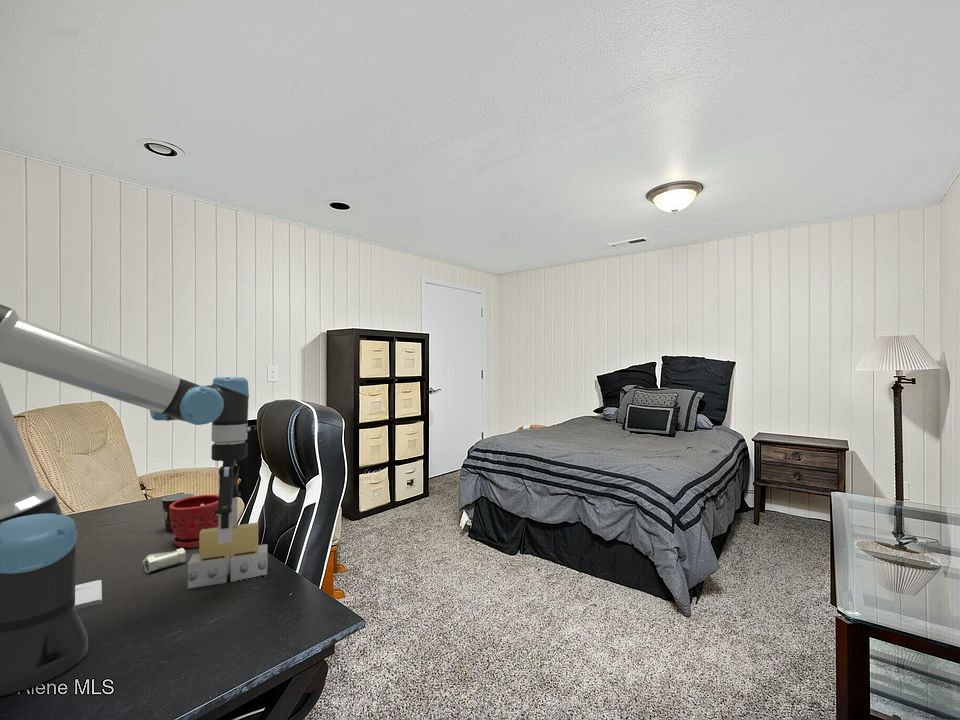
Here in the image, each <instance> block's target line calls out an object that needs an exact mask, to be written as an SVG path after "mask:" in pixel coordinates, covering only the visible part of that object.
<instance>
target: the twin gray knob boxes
mask: <svg viewBox="0 0 960 720" xmlns="http://www.w3.org/2000/svg"><path fill="white" fill-rule="evenodd" d="M229 575H230V583H233V582H238V580H240V581H243V580H242V579H246V580H248V579H247V578H252V577H256V576H260V575H267V576H268V544H267V543H266V544H258V552H252V553H251V554H245V555H239V554H238V555H231V556H224V557H220V558H218V559H211V560H207V559H204V560H199V553H193V554H192V555H191V557H190V559H189V561H188V563H187V589H188V590H190V589H196V588H197V589H198V588H202V587H209V586H215V585H220V584H227V583H228V578H229ZM252 579H253V578H252Z"/></svg>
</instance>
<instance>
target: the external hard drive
mask: <svg viewBox="0 0 960 720" xmlns="http://www.w3.org/2000/svg"><path fill="white" fill-rule="evenodd" d="M102 587H103V584H102V579H97V580H93V581H89V582H85V583H81V584H75V608H76V610H77V611H78V610H82V609H86V608H90V607H94V606H99V605H102V604H103V589H102Z"/></svg>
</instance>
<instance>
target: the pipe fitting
mask: <svg viewBox="0 0 960 720" xmlns="http://www.w3.org/2000/svg"><path fill="white" fill-rule="evenodd" d="M186 560H187V553H186V550H185V549H184V547H180V548H177V549H175V550H173V551H167V552H166V551H165V552H157V553H149V554H148V555H147V556H146V557H145V558H144V559H143V560H142V565H143V566H144V571H145V573H146V574H148V575H149V574H150V573H151V574H152V573H155V572H156V571H160V570H162V569H165V568H169V567H173V566H176V565H177V566H178V565H181V564H184V563H185V562H187V561H186Z"/></svg>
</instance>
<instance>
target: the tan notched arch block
mask: <svg viewBox="0 0 960 720" xmlns="http://www.w3.org/2000/svg"><path fill="white" fill-rule="evenodd" d="M258 545H259V522H251V523H250V522H249V523H243V524H237V525H232V542H228V543H220V544H218V528H210V529H201V531H200V533H199V546H198V547H199V548H198V551H199V553H198V554H199V560H204V559H207V560H211V559H218V558H220V557H224V556H229V557H231V555H238V554H239V555H245V554H251V553H252V552H258Z"/></svg>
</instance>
